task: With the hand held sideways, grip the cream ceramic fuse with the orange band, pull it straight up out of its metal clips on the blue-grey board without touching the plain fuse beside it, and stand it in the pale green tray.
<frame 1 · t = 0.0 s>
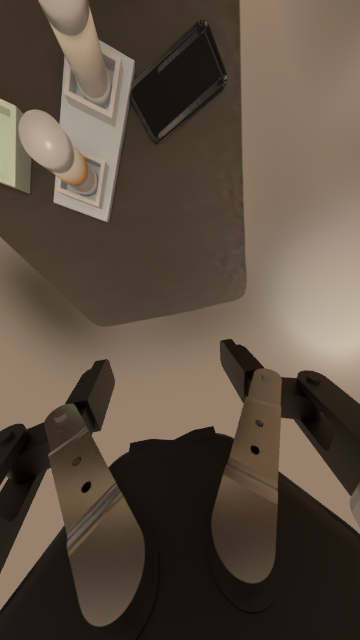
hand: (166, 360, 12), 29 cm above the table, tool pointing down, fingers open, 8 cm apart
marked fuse: (85, 180, 30), point 1 cm above the table, touching fuse board
phone: (177, 91, 29), on the table
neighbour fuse: (96, 88, 26), point 1 cm above the table, touching fuse board
fuse board: (93, 143, 29), on the table
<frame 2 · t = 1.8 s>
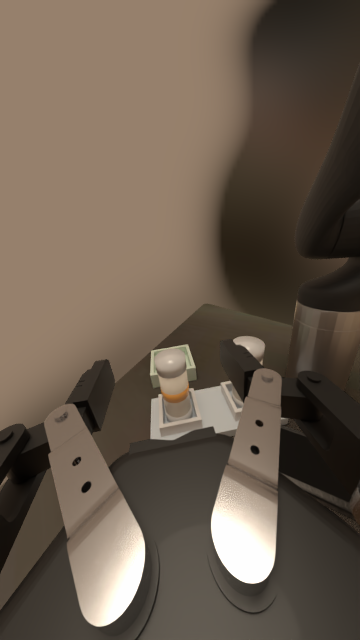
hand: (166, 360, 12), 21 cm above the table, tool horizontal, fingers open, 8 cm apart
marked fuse: (179, 414, 30), point 2 cm above the table, touching fuse board
tray: (173, 369, 44), on the table
phone: (328, 474, 22), on the table
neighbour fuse: (245, 400, 31), point 2 cm above the table, touching fuse board
fuse board: (213, 413, 31), on the table
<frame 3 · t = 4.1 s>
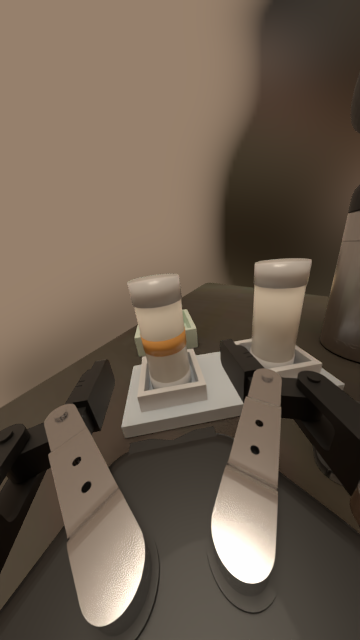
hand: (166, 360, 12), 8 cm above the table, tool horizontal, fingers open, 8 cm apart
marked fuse: (172, 382, 20), point 2 cm above the table, touching fuse board
tray: (167, 338, 34), on the table
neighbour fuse: (269, 365, 21), point 2 cm above the table, touching fuse board
fuse board: (222, 383, 21), on the table
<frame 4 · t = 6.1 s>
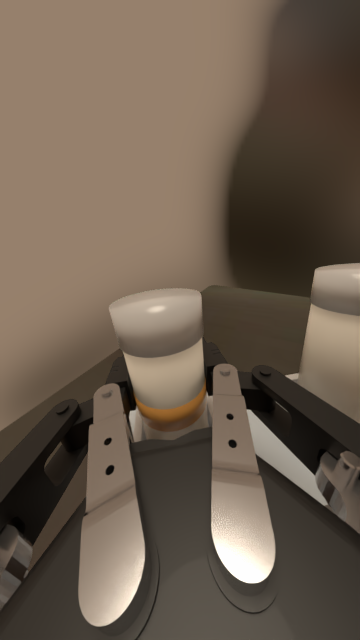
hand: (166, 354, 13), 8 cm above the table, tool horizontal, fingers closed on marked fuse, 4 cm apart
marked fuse: (181, 448, 13), point 2 cm above the table, touching fuse board, gripper
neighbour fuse: (324, 418, 14), point 2 cm above the table, touching fuse board
fuse board: (254, 445, 14), on the table
when the fingers open (9 cm above the table, at t = 11.9 s): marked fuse drops 1 cm, resting on tray.
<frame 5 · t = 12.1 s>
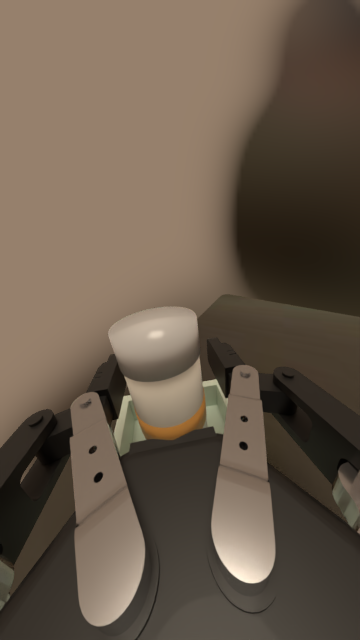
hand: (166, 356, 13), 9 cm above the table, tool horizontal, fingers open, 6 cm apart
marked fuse: (183, 459, 14), point 1 cm above the table, touching tray
tray: (183, 464, 14), on the table
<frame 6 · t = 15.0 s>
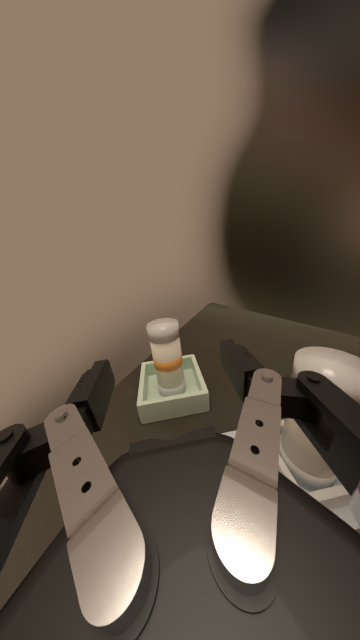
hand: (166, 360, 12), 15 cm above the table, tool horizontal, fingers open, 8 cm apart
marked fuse: (172, 388, 29), point 1 cm above the table, touching tray
tray: (172, 391, 30), on the table
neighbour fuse: (303, 463, 17), point 2 cm above the table, touching fuse board
fuse board: (245, 485, 17), on the table
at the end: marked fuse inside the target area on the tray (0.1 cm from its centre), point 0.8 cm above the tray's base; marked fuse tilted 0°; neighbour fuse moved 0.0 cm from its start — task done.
